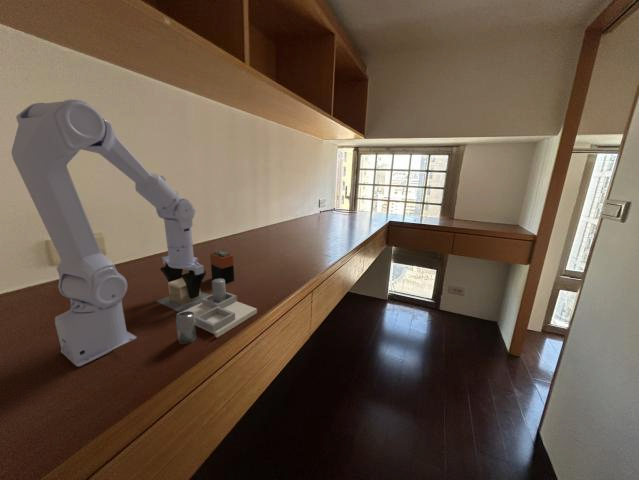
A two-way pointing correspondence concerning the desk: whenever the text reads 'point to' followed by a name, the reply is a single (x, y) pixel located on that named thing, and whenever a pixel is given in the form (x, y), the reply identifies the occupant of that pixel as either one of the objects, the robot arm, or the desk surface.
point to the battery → (222, 266)
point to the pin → (186, 327)
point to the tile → (177, 306)
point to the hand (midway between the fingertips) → (185, 293)
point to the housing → (180, 292)
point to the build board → (220, 310)
